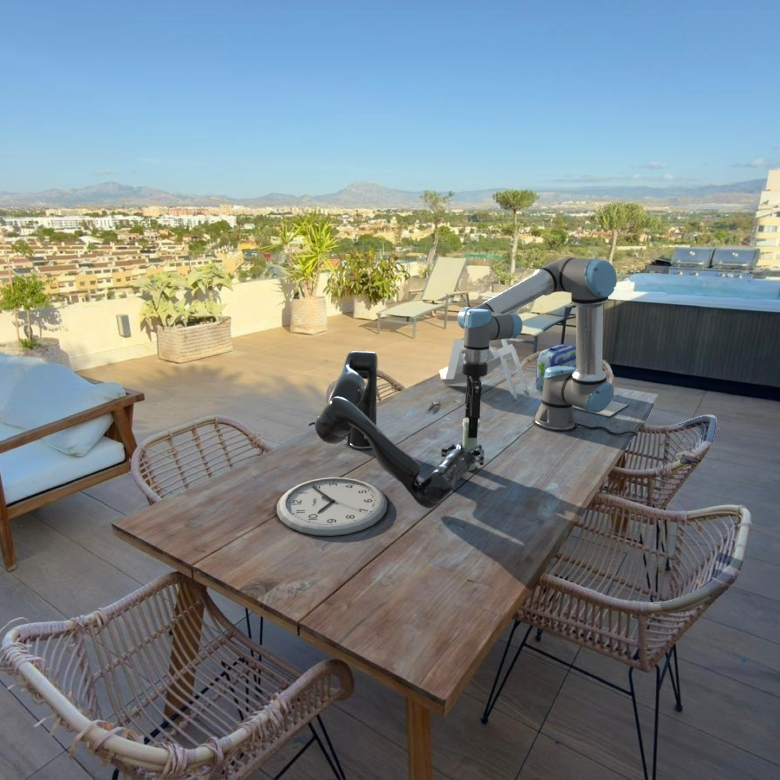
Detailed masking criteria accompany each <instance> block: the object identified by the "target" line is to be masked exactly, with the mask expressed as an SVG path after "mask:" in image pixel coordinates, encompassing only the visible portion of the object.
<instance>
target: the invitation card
mask: <svg viewBox="0 0 780 780" xmlns="http://www.w3.org/2000/svg"><path fill="white" fill-rule="evenodd" d="M628 406H629V404H627V403H623V402H618V401H614V400H611V402H610V403H609V405H608V406H607V407H606V408H605V409H604V410H602V411H601V412H597V413H595V412H591V411H586V410H585V409H582V408H579V407H576V406H574V407H573V409H575V410H581V411H584V412H587V413H593V414H596V415H600V416H604V417H608V418H609V417H611V416H613V415H614V414H616V413H617V412H619V411H621V410H623V409H624V408H626V407H628Z"/></svg>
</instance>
